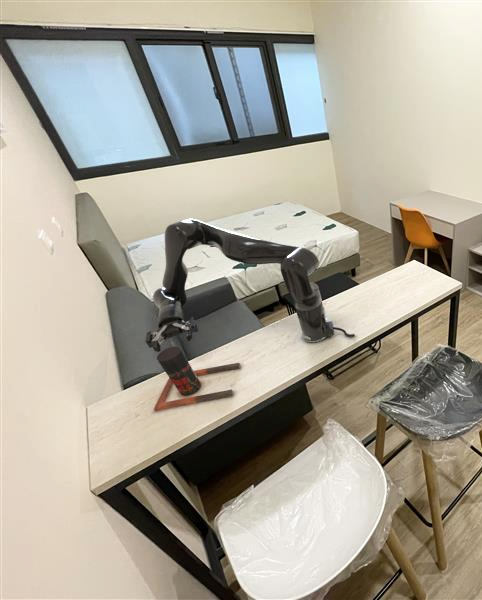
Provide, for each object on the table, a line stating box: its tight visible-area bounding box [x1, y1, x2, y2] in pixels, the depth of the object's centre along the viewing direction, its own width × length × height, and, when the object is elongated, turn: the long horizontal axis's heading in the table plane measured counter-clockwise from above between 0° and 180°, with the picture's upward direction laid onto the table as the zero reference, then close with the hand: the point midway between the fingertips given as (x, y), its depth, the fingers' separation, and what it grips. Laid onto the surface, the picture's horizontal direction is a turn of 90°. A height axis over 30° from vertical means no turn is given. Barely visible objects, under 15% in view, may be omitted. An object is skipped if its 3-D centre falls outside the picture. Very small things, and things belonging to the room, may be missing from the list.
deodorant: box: [156, 346, 202, 397], centre depth 96 cm, size 6×6×15 cm
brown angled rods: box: [153, 362, 242, 412], centre depth 100 cm, size 22×13×2 cm, turn 102°
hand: (173, 344), depth 102 cm, fingers open, 8 cm apart
